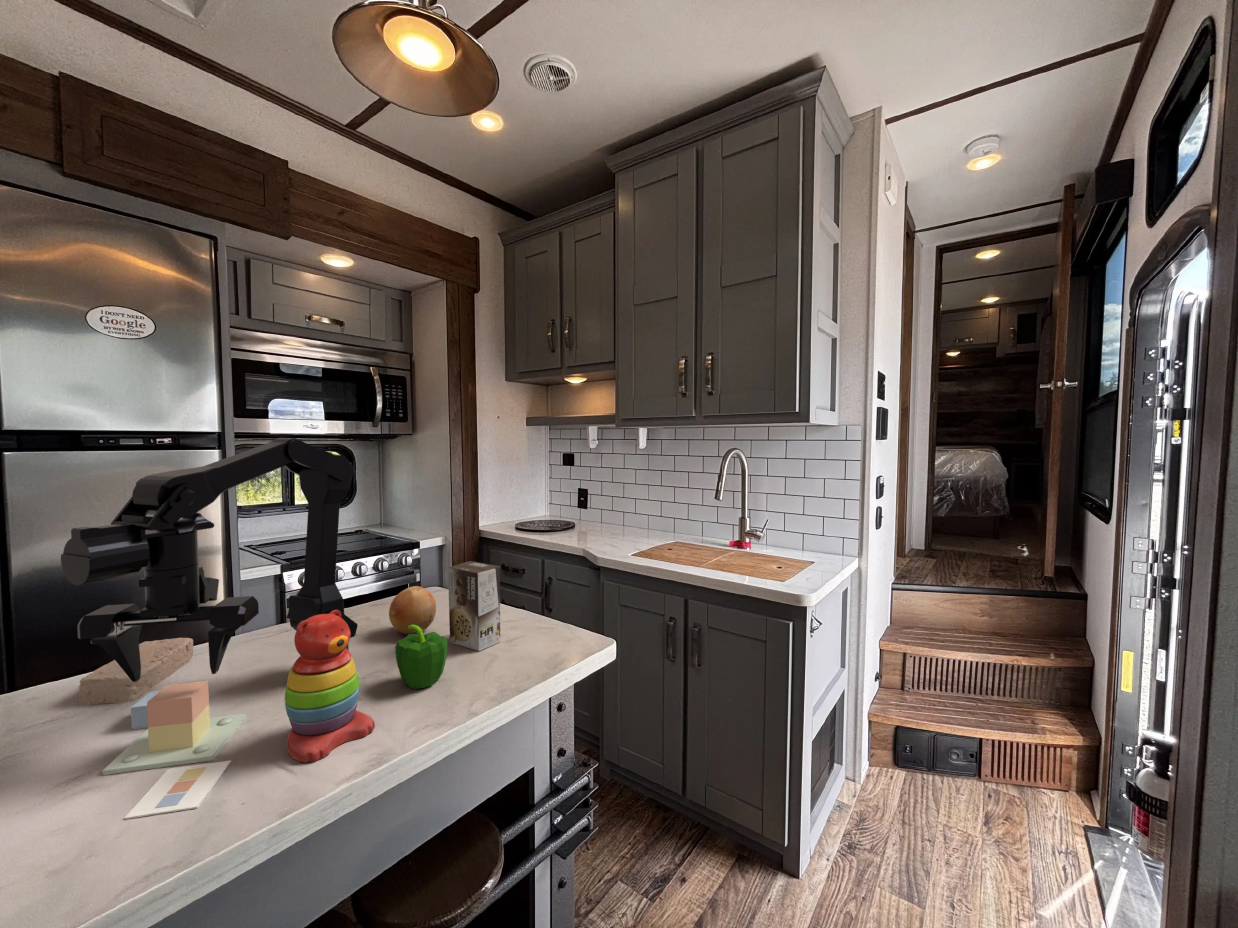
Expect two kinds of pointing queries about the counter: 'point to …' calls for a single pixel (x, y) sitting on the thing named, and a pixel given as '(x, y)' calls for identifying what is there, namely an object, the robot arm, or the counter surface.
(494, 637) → the coffee box
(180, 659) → the brick
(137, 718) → the brick slate
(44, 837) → the counter surface
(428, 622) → the onion
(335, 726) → the stacking bear
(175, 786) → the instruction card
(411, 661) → the bell pepper
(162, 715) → the brick terracotta
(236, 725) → the plate
